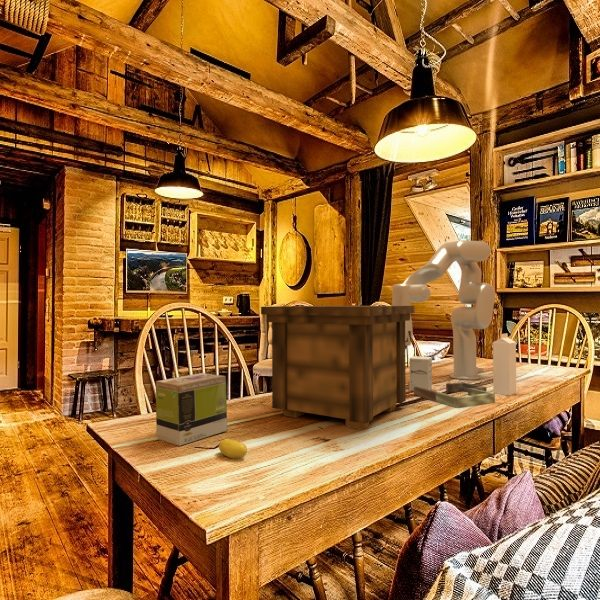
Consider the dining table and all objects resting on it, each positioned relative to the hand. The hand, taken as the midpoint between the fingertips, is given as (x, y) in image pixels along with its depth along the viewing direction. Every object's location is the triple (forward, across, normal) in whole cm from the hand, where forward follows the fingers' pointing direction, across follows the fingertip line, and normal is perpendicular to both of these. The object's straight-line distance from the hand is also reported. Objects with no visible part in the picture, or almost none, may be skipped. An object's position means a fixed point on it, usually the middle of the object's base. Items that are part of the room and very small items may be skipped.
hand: (400, 358), depth 171 cm
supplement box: (+11, +11, +1) cm, 16 cm away
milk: (+10, +29, +25) cm, 40 cm away
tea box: (+13, +28, -89) cm, 94 cm away
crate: (+12, +25, -43) cm, 51 cm away
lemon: (+13, +47, -84) cm, 97 cm away
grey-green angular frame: (+11, +27, +4) cm, 30 cm away
